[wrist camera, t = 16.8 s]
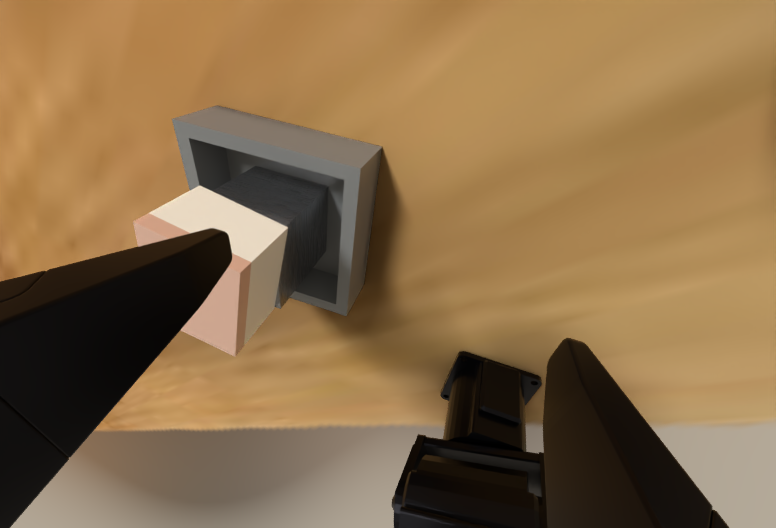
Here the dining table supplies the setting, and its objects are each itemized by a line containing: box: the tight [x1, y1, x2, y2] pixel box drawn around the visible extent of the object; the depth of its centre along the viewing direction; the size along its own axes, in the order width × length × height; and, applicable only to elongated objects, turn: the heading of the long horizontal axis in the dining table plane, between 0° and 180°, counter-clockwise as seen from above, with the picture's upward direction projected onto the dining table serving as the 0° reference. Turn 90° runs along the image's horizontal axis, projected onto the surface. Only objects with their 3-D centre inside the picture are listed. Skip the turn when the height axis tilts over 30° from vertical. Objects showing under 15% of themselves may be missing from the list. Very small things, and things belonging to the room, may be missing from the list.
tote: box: [172, 106, 382, 316], centre depth 21 cm, size 11×11×4 cm
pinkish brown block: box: [133, 186, 288, 356], centre depth 16 cm, size 6×4×4 cm
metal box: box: [213, 166, 329, 309], centre depth 20 cm, size 5×5×6 cm
